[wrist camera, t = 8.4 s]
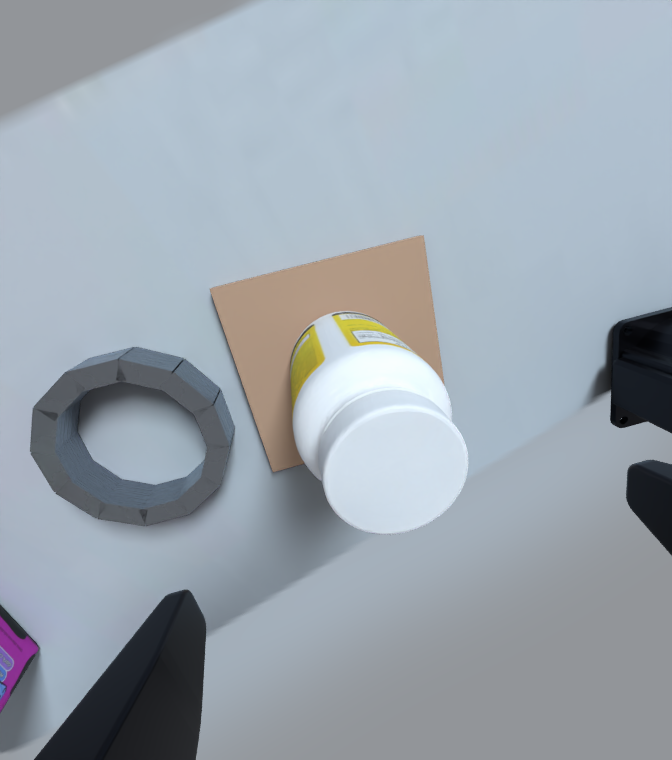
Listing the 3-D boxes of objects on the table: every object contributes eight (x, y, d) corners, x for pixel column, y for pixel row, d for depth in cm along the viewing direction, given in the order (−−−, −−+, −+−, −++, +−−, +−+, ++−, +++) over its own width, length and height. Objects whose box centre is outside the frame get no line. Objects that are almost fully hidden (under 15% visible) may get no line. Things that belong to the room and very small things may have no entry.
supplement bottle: (316, 428, 20) (339, 583, 11) (271, 336, 18) (254, 432, 9) (411, 387, 20) (514, 511, 11) (375, 290, 18) (464, 342, 9)
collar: (199, 330, 18) (189, 340, 17) (252, 475, 21) (249, 498, 20) (22, 375, 18) (-8, 390, 16) (102, 515, 21) (84, 542, 19)
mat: (419, 235, 18) (423, 235, 18) (445, 419, 22) (449, 424, 21) (212, 287, 18) (209, 289, 17) (273, 466, 21) (273, 472, 21)
